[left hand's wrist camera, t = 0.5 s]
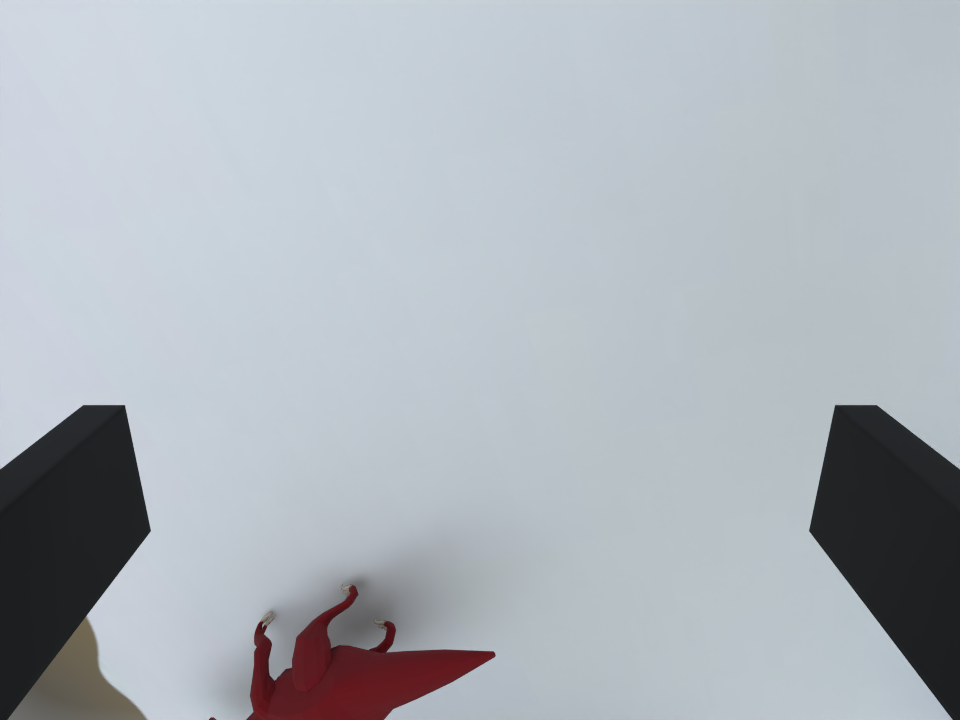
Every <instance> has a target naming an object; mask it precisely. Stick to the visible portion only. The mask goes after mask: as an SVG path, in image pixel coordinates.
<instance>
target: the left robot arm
mask: <svg viewBox="0 0 960 720" xmlns="http://www.w3.org/2000/svg"><path fill="white" fill-rule="evenodd" d="M150 531H151V529H150V525H149V520H148V515H147V510H146V505H145V500H144V496H143V491H142V486H141V481H140V476H139V471H138V467H137V462H136V457H135V452H134V447H133V442H132V438H131V433H130V428H129V423H128V418H127V413H126V409H125V405H83V406H82V407H80V408H79V409H78V410H77V411H75V412H74V413H73V414H71V415H70V416H69V417H68V418H66V419H65V420H64V421H62V422H61V423H60V424H59V425H57V426H56V427H55V428H53V429H52V430H51V431H49V432H48V433H47V434H46V435H44V436H43V437H42V438H40V439H39V440H38V441H37V442H35V443H34V444H33V445H31V446H30V447H29V448H27V449H26V450H25V451H24V452H22V453H21V454H20V455H18V456H17V457H16V458H15V459H13V460H12V461H11V462H9V463H8V464H7V465H6V466H4V467H3V468H2V469H0V720H7V719H8V718H9V717H10V715H11V714H12V713H13V711H14V710H15V709H16V708H17V706H18V705H19V704H20V702H21V701H22V700H23V698H24V697H25V696H26V694H27V693H28V692H29V690H30V689H31V688H32V686H33V685H34V684H35V683H36V681H37V680H38V679H39V677H40V676H41V675H42V673H43V672H44V671H45V669H46V668H47V667H48V665H49V664H50V663H51V661H52V660H53V659H54V658H55V656H56V655H57V654H58V652H59V651H60V650H61V648H62V647H63V646H64V644H65V643H66V642H67V640H68V639H69V638H70V637H71V635H72V634H73V632H74V631H75V630H76V629H77V627H78V626H79V625H80V623H81V622H82V621H83V619H84V618H85V617H86V616H87V614H88V613H89V612H90V610H91V609H92V608H93V606H94V605H95V604H96V602H97V601H98V600H99V598H100V597H101V596H102V595H103V593H104V592H105V591H106V589H107V588H108V587H109V585H110V584H111V583H112V581H113V580H114V579H115V577H116V576H117V575H118V573H119V572H120V571H121V570H122V568H123V567H124V566H125V564H126V563H127V562H128V560H129V559H130V558H131V556H132V555H133V554H134V552H135V551H136V550H137V549H138V547H139V546H140V545H141V543H142V542H143V541H144V539H145V538H146V537H147V535H148V534H149V533H150ZM809 531H810V533H811V534H812V535H813V537H814V538H815V539H816V541H817V542H818V543H819V545H820V546H821V547H822V549H823V550H824V551H825V552H826V554H827V555H828V556H829V558H830V559H831V560H832V562H833V563H834V564H835V566H836V567H837V568H838V570H839V571H840V572H841V573H842V575H843V576H844V577H845V579H846V580H847V581H848V583H849V584H850V585H851V587H852V588H853V589H854V591H855V592H856V593H857V595H858V596H859V597H860V598H861V600H862V601H863V602H864V604H865V605H866V606H867V608H868V609H869V610H870V612H871V613H872V614H873V616H874V617H875V618H876V619H877V621H878V622H879V623H880V625H881V626H882V627H883V629H884V630H885V631H886V633H887V634H888V635H889V637H890V638H891V639H892V641H893V642H894V643H895V644H896V646H897V647H898V648H899V650H900V651H901V652H902V654H903V655H904V656H905V658H906V659H907V660H908V662H909V663H910V664H911V665H912V667H913V668H914V669H915V671H916V672H917V673H918V675H919V676H920V677H921V679H922V680H923V681H924V683H925V684H926V685H927V686H928V688H929V689H930V690H931V692H932V693H933V694H934V696H935V697H936V698H937V700H938V701H939V702H940V704H941V705H942V706H943V708H944V709H945V710H946V711H947V713H948V714H949V715H950V717H951V718H952V719H953V720H960V469H958V468H957V467H956V466H954V465H953V464H952V463H951V462H949V461H948V460H947V459H945V458H944V457H943V456H942V455H940V454H939V453H938V452H936V451H935V450H934V449H933V448H931V447H930V446H929V445H927V444H926V443H925V442H923V441H922V440H921V439H920V438H918V437H917V436H916V435H914V434H913V433H912V432H911V431H909V430H908V429H907V428H905V427H904V426H903V425H901V424H900V423H899V422H898V421H896V420H895V419H894V418H892V417H891V416H890V415H889V414H887V413H886V412H885V411H883V410H882V409H881V408H880V407H878V406H877V405H835V409H834V413H833V418H832V423H831V428H830V433H829V438H828V442H827V447H826V452H825V457H824V462H823V467H822V471H821V476H820V481H819V486H818V491H817V496H816V500H815V505H814V510H813V515H812V520H811V525H810V529H809Z"/></svg>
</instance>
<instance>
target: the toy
mask: <svg viewBox="0 0 960 720" xmlns="http://www.w3.org/2000/svg"><path fill="white" fill-rule="evenodd" d="M341 589H342V590H344V591H343V593H344V594H345V595H347V596H348V597H347V598H346V600H345V601H344V602H342V603H340V604H339V605H337V606H335V607H333V608H331V609H330V610H328V611H326V612H324V613H322V614H321V615H320V616H318V617H317V618H316V619H314V620H313V621H312V622H311V623H310V624H309V625H308V626H307V627H306V628H305V629H304V630H303V631H302V632H301V633H300V634H299V635H298V636H297V638H296V644H295V649H294V654H293V658H292V668H289V669H286V670H285V671H284V672H283V673H282V674H281V675H280V676H279V677H278V678H277V679H276V680H275V681H274V680H273V679H272V678H271V676H270V675H269V655H270V651H271V647H272V643H271V641H270V640H269V638H267V637H266V636H265V635H264V633H265V630H266V628H267V626H268V625H269V624H270V622H271V621H272V620H273V619H274V617H275V615H274V616H272V617H271V618H270V619H269V620H268V621H267V619H268V618H269V617H270V616H271V614H272V612H270V613H268V614H267V615H265V616H264V617H263V618H262V620H261V621H260V623H259V624H258V626H257V628H256V631H255V635H254V643H255V645H256V646H257V648H256V649H255V651H254V670H253V678H252V685H251V692H250V698H251V702H252V706H253V711H254V712H253V713H252V714H251V715H250V716H249V717H248V718H247V720H384V719H385V718H386V717H387V715H388V714H389V713H390V712H391V711H392V710H393V709H394V708H397V707H399V706H401V705H404V704H406V703H409V702H411V701H413V700H416V699H418V698H420V697H422V696H424V695H426V694H428V693H430V692H433V691H435V690H437V689H439V688H441V687H443V686H445V685H447V684H449V683H451V682H453V681H455V680H457V679H458V678H460V677H462V676H463V675H465V674H467V673H468V672H470V671H472V670H474V669H475V668H477V667H479V666H480V665H482V664H484V663H485V662H487V661H489V660H491V659H492V658H494V657H495V653H494V652H493V651H467V650H422V651H402V652H389V653H386V652H387V651H388V649H389V648H390V647H391V645H392V644H393V641H394V637H395V632H396V629H395V626H394V624H393V623H391V622H389V621H381V620H379V621H376V617H375V619H374V622H375V623H376V624H379V626H378V627H379V628H384V630H387V632H386V637H385V639H384V641H383V642H382V643H381V644H380V645H378V646H377V647H375V648H372V649H370V650H365V649H361V648H356V647H352V646H343V645H339V646H336V647H334V648H331V644H330V640H329V638H328V635H327V626H328V624H329V623H330V621H331V620H332V619H333V618H334V617H335V616H337V615H338V614H339V613H341V612H343V611H344V610H346V609H347V608H349V607H350V606H351V605H352V603H353V602H354V600H355V599H356V597H357V596H358V592H357V590H356V587H355V586H353V585H349V586H345V587H343V584H342V585H341ZM266 621H267V622H266ZM265 622H266V624H265V625H264V626H263V628H262V624H263V623H265ZM209 720H216V719H215V718H214V717H213V718H210V719H209Z"/></svg>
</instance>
